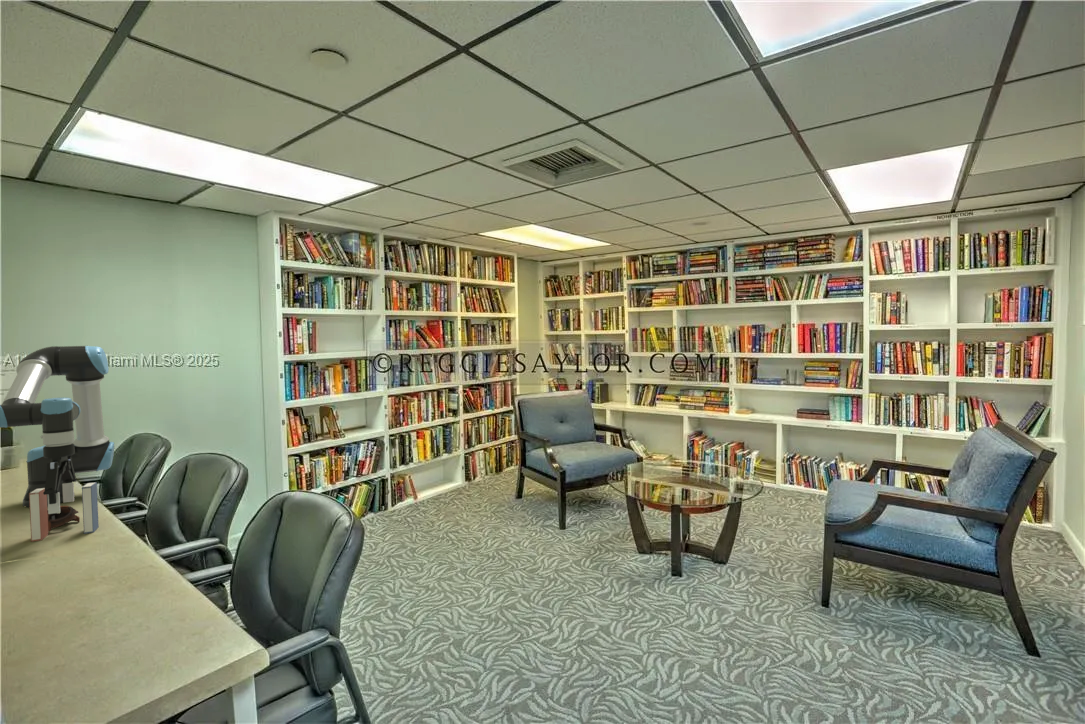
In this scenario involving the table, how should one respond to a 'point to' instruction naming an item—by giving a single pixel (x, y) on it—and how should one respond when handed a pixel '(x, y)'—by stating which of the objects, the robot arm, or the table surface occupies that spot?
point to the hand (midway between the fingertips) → (61, 507)
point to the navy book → (90, 507)
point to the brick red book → (38, 514)
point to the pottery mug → (62, 517)
